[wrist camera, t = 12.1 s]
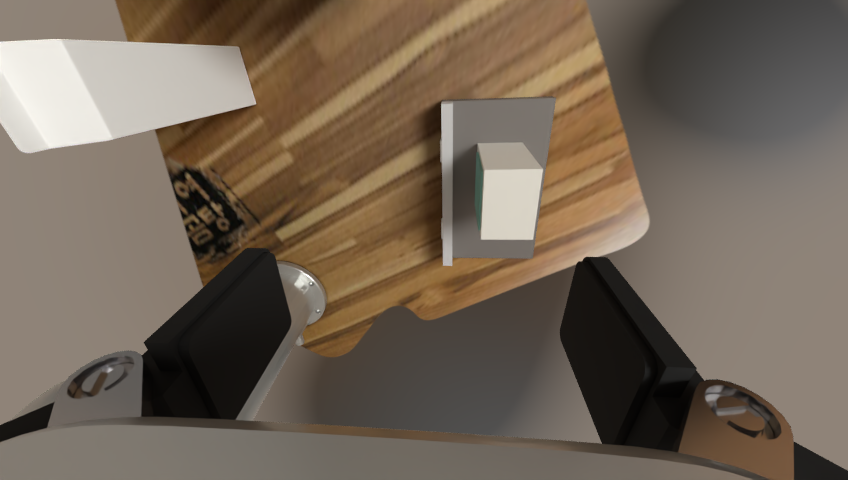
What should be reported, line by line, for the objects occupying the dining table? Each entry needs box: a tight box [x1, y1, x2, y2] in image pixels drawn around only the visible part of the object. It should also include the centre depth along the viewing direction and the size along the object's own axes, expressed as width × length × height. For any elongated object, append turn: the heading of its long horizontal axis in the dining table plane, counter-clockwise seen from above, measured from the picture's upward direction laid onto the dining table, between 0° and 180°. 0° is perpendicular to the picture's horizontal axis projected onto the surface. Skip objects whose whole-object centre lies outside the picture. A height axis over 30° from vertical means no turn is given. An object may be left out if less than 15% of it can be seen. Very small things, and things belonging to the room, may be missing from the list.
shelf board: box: [440, 96, 556, 266], centre depth 40 cm, size 20×12×4 cm, turn 2°
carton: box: [475, 142, 543, 240], centre depth 35 cm, size 7×5×10 cm
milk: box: [0, 39, 256, 153], centre depth 28 cm, size 6×6×22 cm
